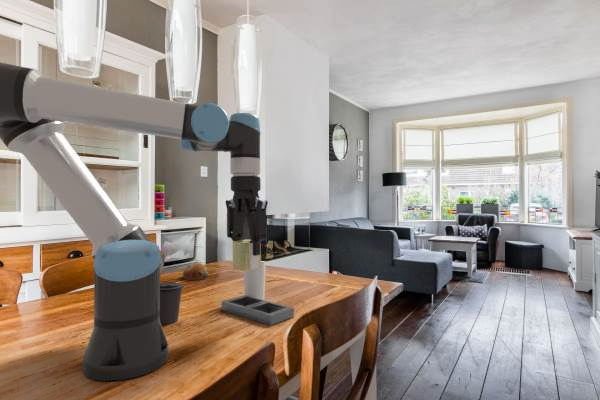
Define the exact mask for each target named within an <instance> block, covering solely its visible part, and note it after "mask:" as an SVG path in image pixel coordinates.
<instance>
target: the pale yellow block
mask: <svg viewBox="0 0 600 400" xmlns="http://www.w3.org/2000/svg"><path fill="white" fill-rule="evenodd" d="M249 241H251V238H250V239H249V238H248V239H247V238H245V239H242V240H238V241H233V240H232V268H233V269H234V270H238V271H243V272H244V271H249V270H253V269H249V243H250V242H249ZM261 243H262V241H261V242H260V255H259V268H261V262H262V255H261V253H262V251H261V250H262V249H261V247H262V246H261ZM255 269H258V268H255Z"/></svg>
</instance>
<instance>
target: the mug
mask: <svg viewBox="0 0 600 400" xmlns="http://www.w3.org/2000/svg"><path fill="white" fill-rule="evenodd" d="M243 281H244V282H243V283H244V285H243V287H244V288H243V290H244V291H243V294H244V295H246V296H250V297H254V298H257V299H261V300H265V292H266V291H265V289H266V288H265V287H266V286H265V284H266V263H265V262H263V261H261V268H258V269H253V270H249V271H243ZM244 295H243V296H244Z"/></svg>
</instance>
